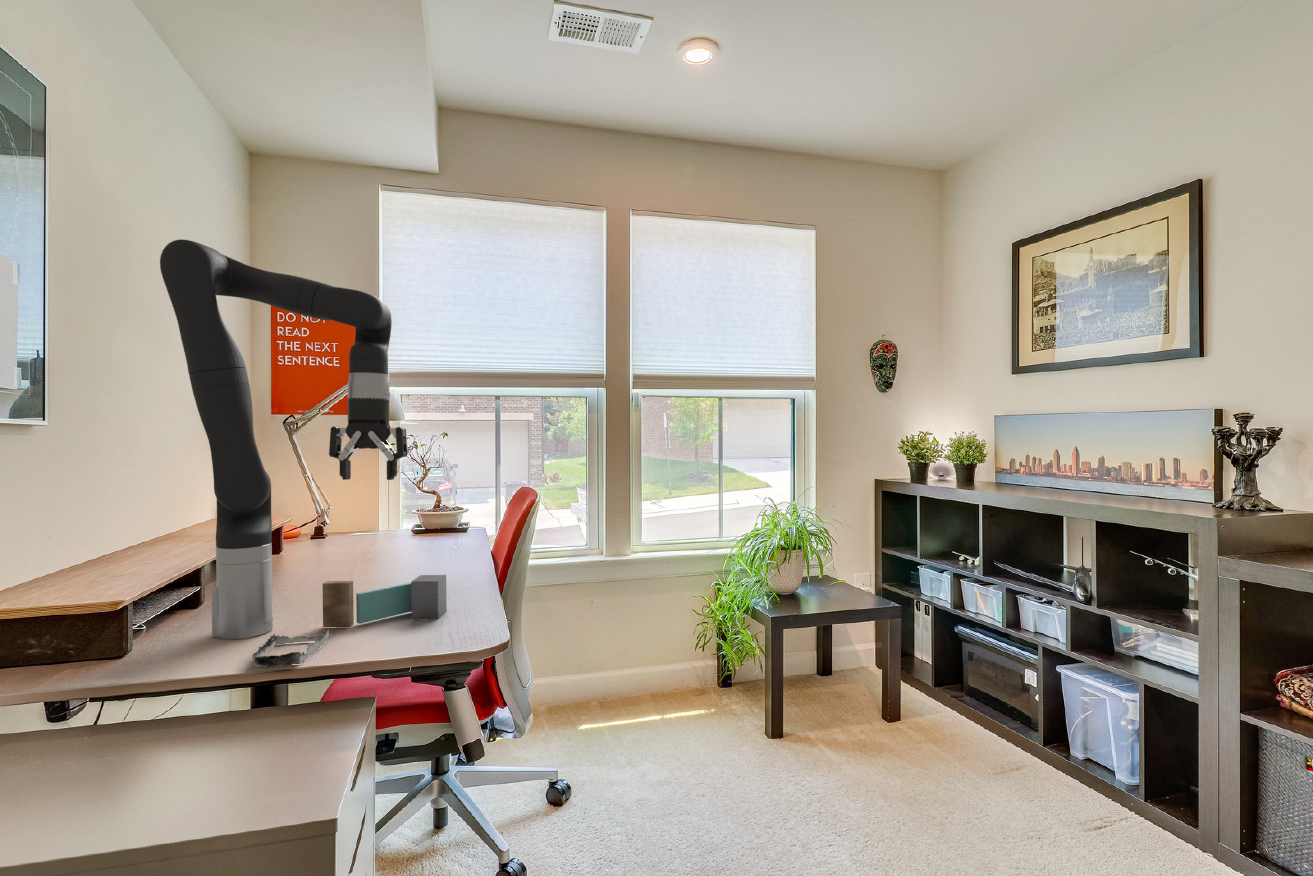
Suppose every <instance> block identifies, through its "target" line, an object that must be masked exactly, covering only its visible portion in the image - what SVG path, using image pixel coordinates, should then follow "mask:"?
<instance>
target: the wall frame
mask: <svg viewBox="0 0 1313 876" xmlns="http://www.w3.org/2000/svg"><path fill="white" fill-rule="evenodd" d="M354 608H355V607H354V580H327V581H325V582H323V583H322V628H323V627H350V628H351V626H352V625H353V624H354V625H355V623H354V622H355V619H354V613H355V610H354ZM354 625H353V626H354ZM353 626H352V627H353Z"/></svg>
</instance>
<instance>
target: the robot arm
mask: <svg viewBox="0 0 1313 876" xmlns="http://www.w3.org/2000/svg"><path fill="white" fill-rule="evenodd" d="M159 269H160V273H161V276H162V279H163V282H164V285H165V286H164V287H165V288H166V291H167V294H168V296H169V297H168V298H169V300H170V303H171V305H172V308H173V311H174V315H175V317H176V320H177V324H178V325H177V326H178V330H179V335H180V340H181V344H182V348H183V352H184V356H185V361H186V365H187V372H188V376H189V381H190V385H191V390H192V394H193V397H194V398H193V399H194V401H195V405H196V408H197V411H198V415H199V417H200V421H201V423H202V426H203V429H204V431H205V434H206V437H207V440H208V444H209V449H210V454H211V455H210V456H211V465H212V473H213V474H212V475H213V492H214V495H215V498H216V526H215V527H216V528H215V556H216V557H215V558H216V559H215V562H216V564H215V568H216V573H215V574H216V585H215V586H213V587H211V590H210V591H211V593H210V594H211V596H210V597H211V599H210V600H211V637H212V638H219V639H222V640H236V639H238V640H240V639H246V638H252V637H256V636H260V635H264V634H266V633H269V632H270V631H271V632H272V630H273V629H272V628H273V626H274V624H273V621H274V617H273V614H274V613H273V553H272V552H273V551H272V550H273V547H272V544H273V543H272V541H273V540H272V538H273V537H272V535H273V534H272V532H273V529H272V528H273V527H272V526H273V524H272V522H273V521H272V481H271V478H270V476H269V474H268V472H267V471H266V470H265V467H264V465H263V461H262V458H261V457H260V456H261V455H260V452H259V449H258V446H257V443H256V439H255V432H254V414H253V413H254V412H253V400H252V391H251V386H250V381H249V380H250V379H249V376H248V370H247V367H246V364H245V363H246V362H245V360H244V357H243V355H242V352H241V351H240V349H239V347H238V345H237V344H236V342H235V339H234V338H233V336H232V335H231V333H230V331H229V330H228V328H227V325H226V324H225V323H224V321H223V318H222V315H221V313H220V309H219V305H218V299H217V296H220V297H221V296H222V297H230V298H240V299H246V300H251V301H255V302H260V303H262V304H265V305H270V306H271V307H275V308H278V309H280V310H284V311H287V312H290V313H293V314H294V313H295V314H297V315H302V316H305V317H309V318H313V319H317V320H320V321H322V320H323V321H334V322H337V323H341V324H344V325H348V326H351V327H354V328H355V334H354V344H353V345H352V346H351V347H350V348H349V355H348V356H349V357H348V358H349V361H348V364H349V365H348V366H349V367H348V373H349V374H348V381H347V425H346V427H341V426H331V428H330V434H329V435H330V436H329V449H328V455H329V457H331V458H335V459H337V460H338V461H339V476H340V478H341V477H342V480H343V481H345V480H346V481H348V480H351V477H352V475H351V474H352V473H351V472H352V471H351V466H352V465H351V462H352V460H350V459H351V458H352V457H353V455H354V453H356V452H357V451H358V449H359V450H362V449H363V450H364V449H370V450H372V449H373V450H374V449H376V450H377V449H379V450H380V452H382V453H383V454H384V455H385V457H386V458H387V461H386V480H387V481H392V480H395V477H397V475H398V461H399V460H400V459H402V458H406V457H407V456H408V443H407V441H408V440H407V429H406V427H404V426H397V427H391V426H390V397H391V392H390V382H389V356H388V351H389V347H390V342H391V341H390V340H391V333H392V326H393V325H392V323H393V322H392V321H393V320H392V313H391V310H390V308H389V307H388V305H387V304H386V303H385V302H384V301H382V300H381V299H380V298H378V296H376V295H374V294H371V293H369V292H365V291H362V290H358V289H350V288H346V287H338V286H333V285H331V284H327V283H326V282H325V283H324V282H321V281H317V280H313V279H310V278H306V277H305V278H304V277H302V276H301V277H300V276H297V275H292V274H286V273H282V272H281V273H280V272H274V271H269V270H264V269H260V268H257V267H254V266H250V265H248V264H244V263H243V262H242V261H241V262H240V261H238V260H236V259H233V258H232V257H229V256H228V255H224V254H223V253H220V252H219V251H218V250H216V249H215V248H212V247H210V246H208V245H205V244H203V243H200V242H196V241H194V240H190V239H189V240H188V239H175V240H172V241H170V242H169V243H167V244H166V245H165V247H164V248H163V249H162V250H161V254H160V257H159ZM391 434H392V436H393V439H395V441H396V451H395V449H394V447H393V446H392V445H391V444H390V442H389V440H388V439H389V437H390V436H391ZM345 435H347V437H348V438H349V441H348V442H347V443H346V445H345V446H343V447H344V448H343V450H342V440H343V438H344V437H345Z"/></svg>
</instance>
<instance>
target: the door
mask: <svg viewBox="0 0 1313 876" xmlns="http://www.w3.org/2000/svg"><path fill="white" fill-rule="evenodd" d="M355 597H356V599H355V600H356V601H355V602H356V603H355V605H356V607H355V609H356V623H357V624H358V625H361V624H364V623H369V622H373V621H377V620H382V619H386V618H390V617H395V616H399V615H402V614H407V613H410V612H411V613H412V598H411V581H410V582H405V583H401V584H397V585H391V586H390V585H389V586H387V587H381V588H376V589H370V590H366V591H361V592H356V593H355Z"/></svg>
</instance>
